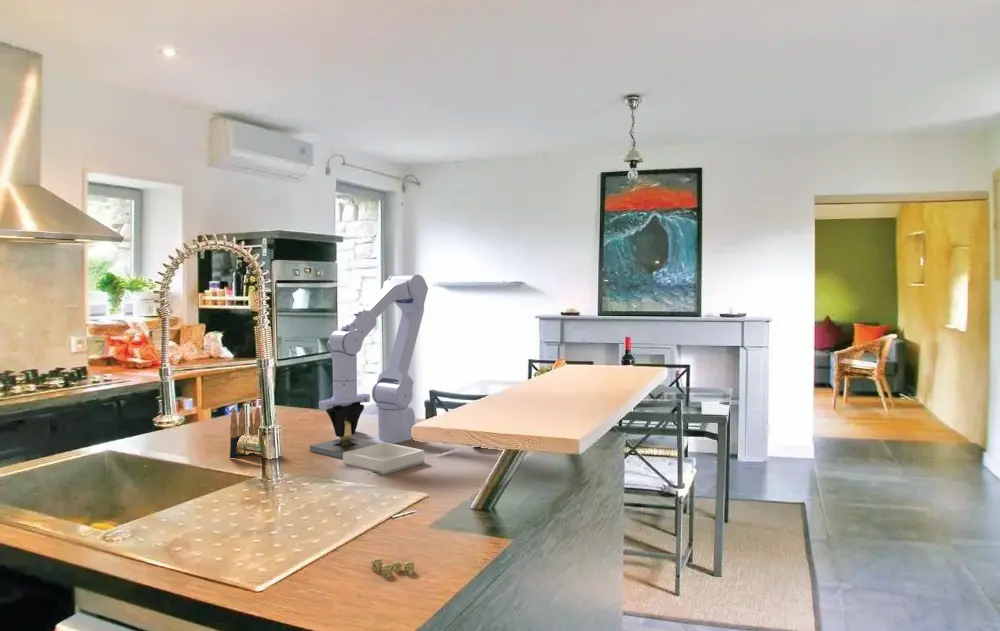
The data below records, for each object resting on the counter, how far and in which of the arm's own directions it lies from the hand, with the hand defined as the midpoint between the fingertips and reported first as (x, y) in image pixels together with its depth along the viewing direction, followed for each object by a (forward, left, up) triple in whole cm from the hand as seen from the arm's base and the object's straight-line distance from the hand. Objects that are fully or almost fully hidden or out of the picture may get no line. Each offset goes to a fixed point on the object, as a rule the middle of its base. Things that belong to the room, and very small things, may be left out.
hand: (345, 435), depth 174 cm
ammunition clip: (+16, -14, -5) cm, 22 cm away
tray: (+2, +16, -4) cm, 16 cm away
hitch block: (0, 0, -4) cm, 4 cm away
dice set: (+44, +60, -5) cm, 74 cm away
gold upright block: (0, 0, -2) cm, 2 cm away
